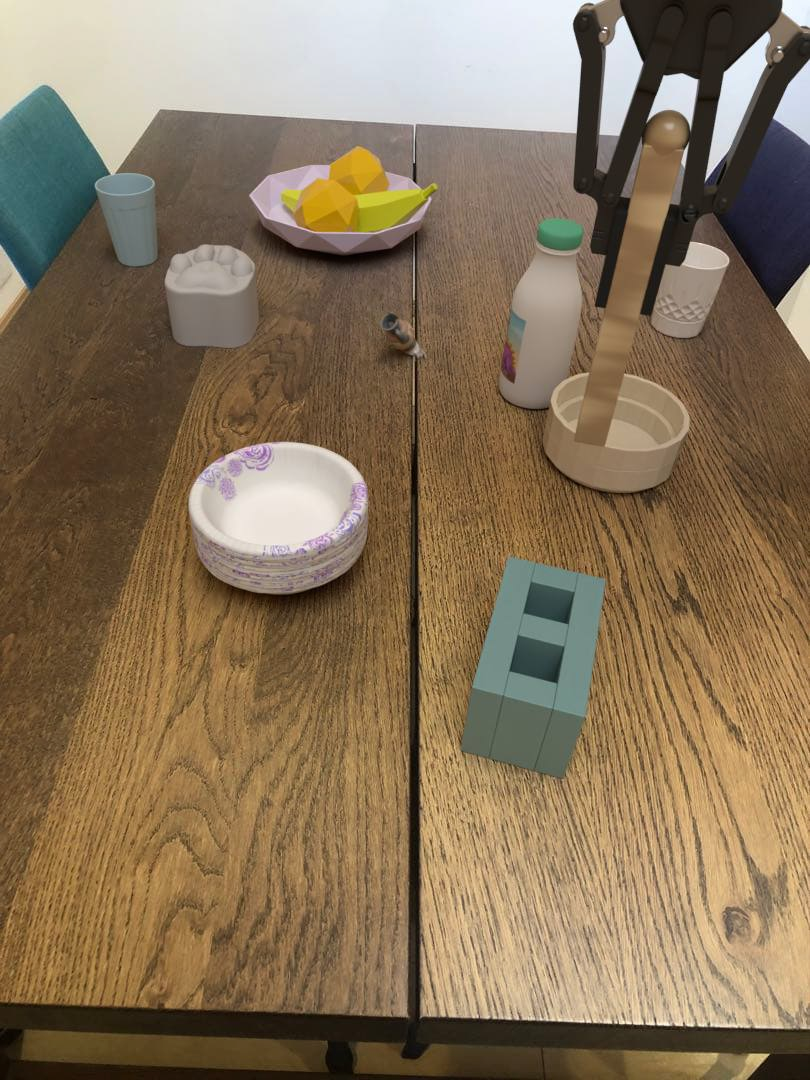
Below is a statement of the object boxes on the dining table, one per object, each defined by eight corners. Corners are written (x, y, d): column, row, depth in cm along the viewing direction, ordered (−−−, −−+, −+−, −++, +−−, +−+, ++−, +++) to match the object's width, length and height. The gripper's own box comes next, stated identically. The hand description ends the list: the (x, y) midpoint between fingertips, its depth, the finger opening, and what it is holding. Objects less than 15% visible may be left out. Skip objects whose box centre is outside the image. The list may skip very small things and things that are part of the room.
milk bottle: (570, 385, 98) (608, 220, 84) (551, 418, 93) (588, 248, 79) (510, 368, 100) (537, 204, 86) (488, 399, 95) (513, 230, 81)
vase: (390, 372, 98) (392, 328, 94) (367, 351, 101) (368, 307, 97) (427, 361, 100) (431, 317, 96) (403, 341, 104) (406, 297, 99)
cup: (147, 274, 113) (134, 198, 105) (99, 264, 114) (82, 188, 107) (175, 252, 118) (165, 178, 111) (129, 243, 119) (115, 169, 112)
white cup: (634, 322, 110) (653, 250, 103) (669, 306, 114) (690, 236, 107) (681, 347, 106) (705, 274, 99) (716, 329, 110) (742, 258, 103)
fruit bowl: (219, 227, 125) (211, 149, 117) (357, 189, 139) (357, 117, 131) (332, 298, 111) (331, 214, 103) (473, 248, 124) (482, 171, 117)
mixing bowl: (676, 431, 92) (691, 386, 88) (670, 510, 82) (687, 463, 78) (552, 406, 95) (561, 361, 91) (531, 479, 85) (541, 432, 81)
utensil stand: (585, 643, 69) (606, 578, 64) (563, 779, 60) (585, 717, 54) (495, 621, 71) (508, 555, 65) (460, 750, 61) (471, 687, 56)
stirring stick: (609, 429, 65) (696, 107, 49) (606, 449, 63) (696, 121, 47) (574, 422, 66) (649, 101, 49) (570, 442, 64) (646, 114, 47)
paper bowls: (250, 485, 82) (244, 420, 76) (391, 529, 78) (395, 464, 73) (164, 587, 71) (150, 520, 66) (322, 643, 68) (321, 577, 62)
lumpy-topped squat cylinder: (166, 344, 100) (154, 278, 94) (187, 294, 109) (178, 230, 103) (251, 349, 100) (245, 283, 94) (265, 298, 110) (261, 235, 104)
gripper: (569, -145, 39) (505, 308, 55) (914, -117, 36) (740, 348, 53) (585, -154, 44) (522, 262, 60) (887, -131, 42) (737, 296, 58)
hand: (624, 301), depth 57 cm, fingers closed on stirring stick, 2 cm apart
